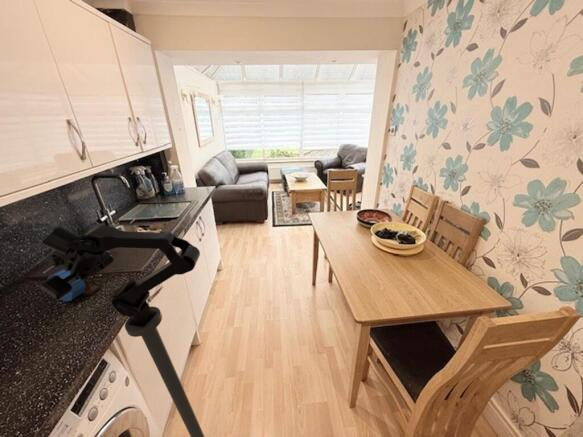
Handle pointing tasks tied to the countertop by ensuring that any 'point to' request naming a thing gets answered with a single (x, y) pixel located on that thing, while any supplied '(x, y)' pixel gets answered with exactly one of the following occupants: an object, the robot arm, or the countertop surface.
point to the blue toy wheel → (77, 286)
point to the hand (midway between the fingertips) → (74, 283)
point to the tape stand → (89, 288)
